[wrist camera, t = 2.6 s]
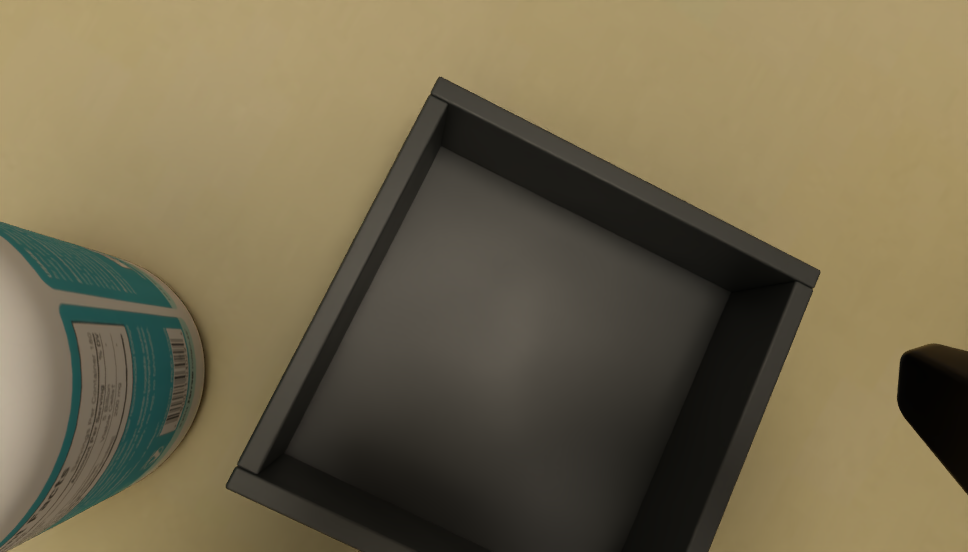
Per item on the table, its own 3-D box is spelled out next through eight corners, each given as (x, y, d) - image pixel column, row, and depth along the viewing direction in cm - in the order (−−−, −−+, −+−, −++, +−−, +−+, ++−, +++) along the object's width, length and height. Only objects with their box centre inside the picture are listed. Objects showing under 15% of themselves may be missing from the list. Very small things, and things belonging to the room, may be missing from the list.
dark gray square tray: (604, 621, 22) (654, 688, 18) (261, 460, 22) (223, 488, 17) (745, 285, 24) (822, 270, 20) (432, 127, 23) (439, 74, 19)
